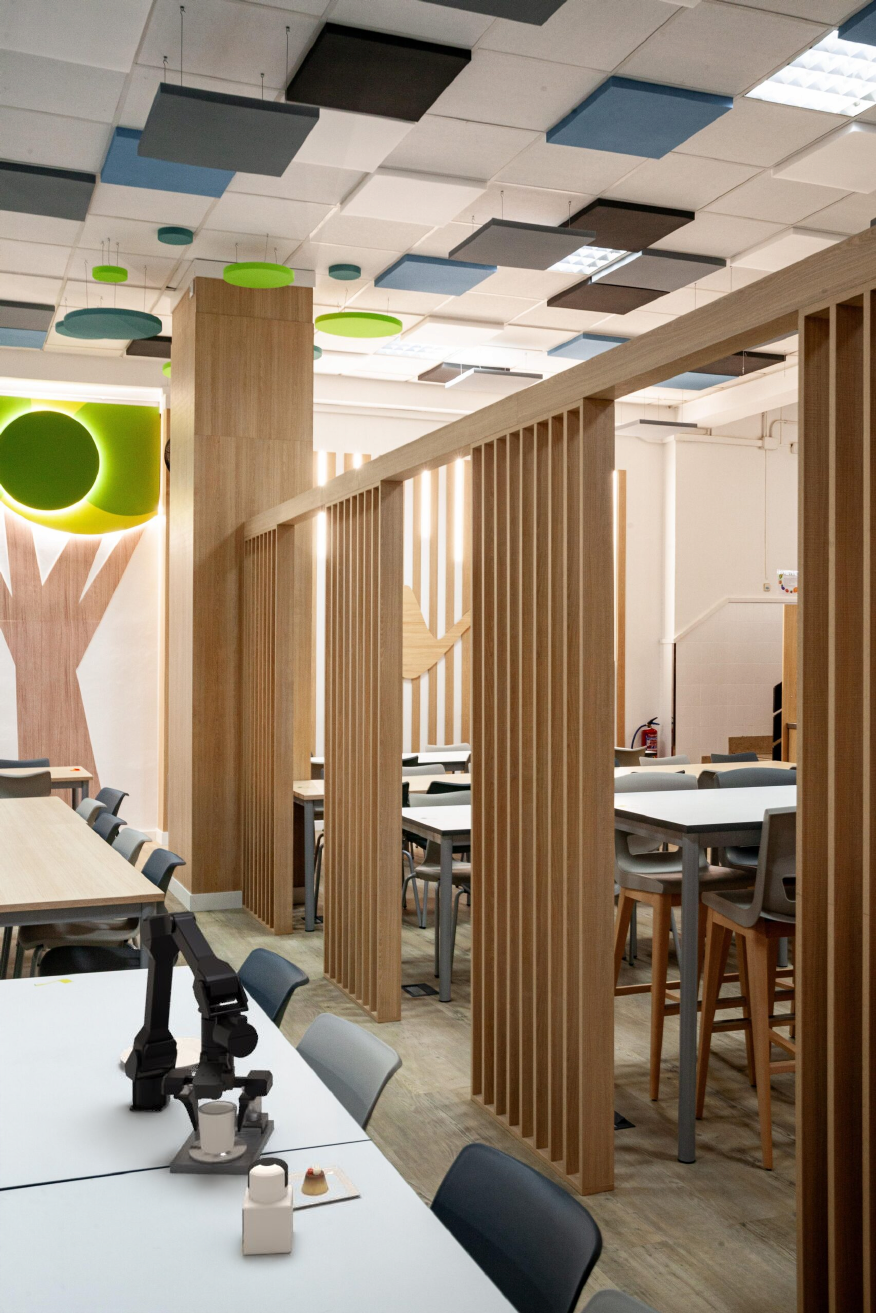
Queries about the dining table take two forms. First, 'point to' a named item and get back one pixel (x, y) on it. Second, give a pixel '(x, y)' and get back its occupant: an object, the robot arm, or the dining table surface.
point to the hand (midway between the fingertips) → (217, 1131)
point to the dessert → (322, 1183)
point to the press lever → (255, 1115)
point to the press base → (229, 1162)
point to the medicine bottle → (267, 1208)
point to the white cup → (217, 1126)
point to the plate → (179, 1053)
